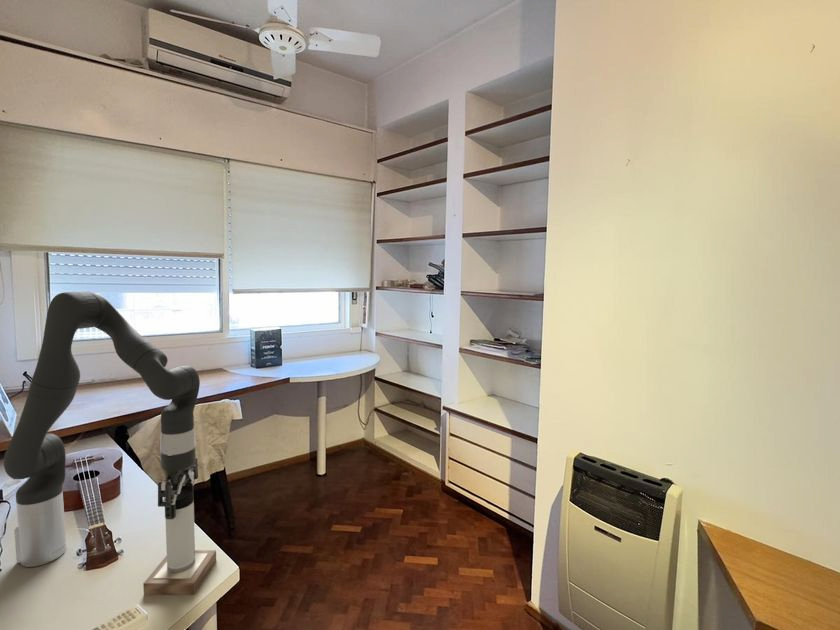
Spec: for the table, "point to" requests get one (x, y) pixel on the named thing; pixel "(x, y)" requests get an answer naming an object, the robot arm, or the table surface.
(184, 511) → the travel mug
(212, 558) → the plinth
